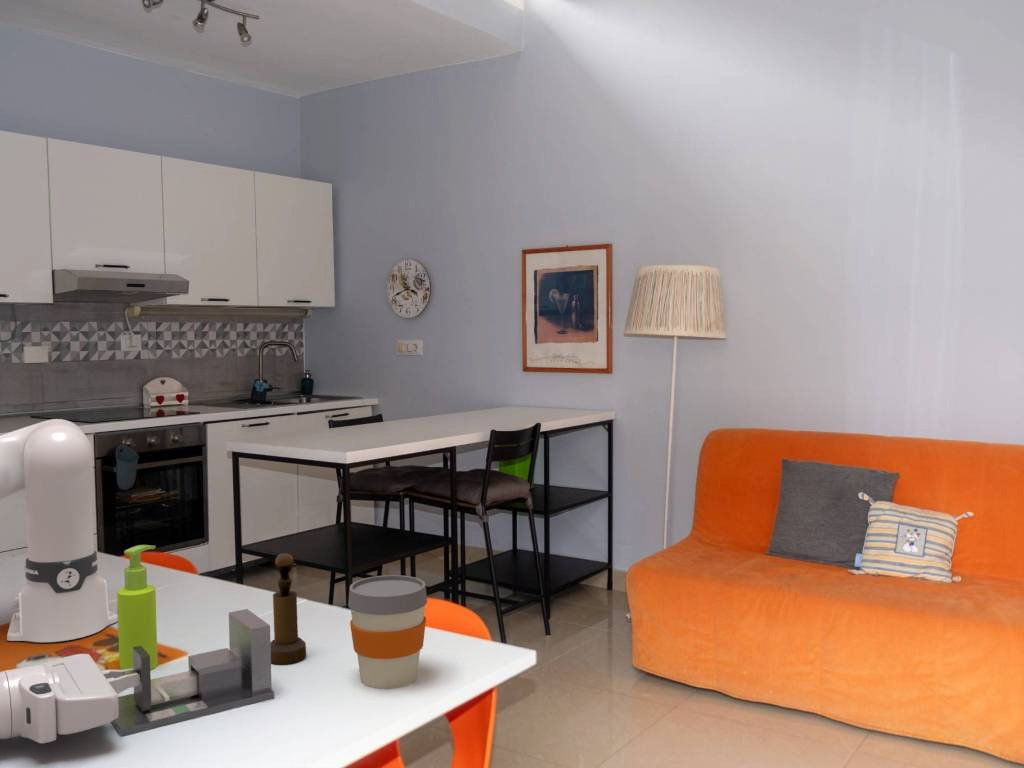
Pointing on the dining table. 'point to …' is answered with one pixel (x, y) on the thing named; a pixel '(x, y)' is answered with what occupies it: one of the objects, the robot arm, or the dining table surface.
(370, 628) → the reusable coffee cup
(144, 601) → the soap dispenser
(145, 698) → the plunger
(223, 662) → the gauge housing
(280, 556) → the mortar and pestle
